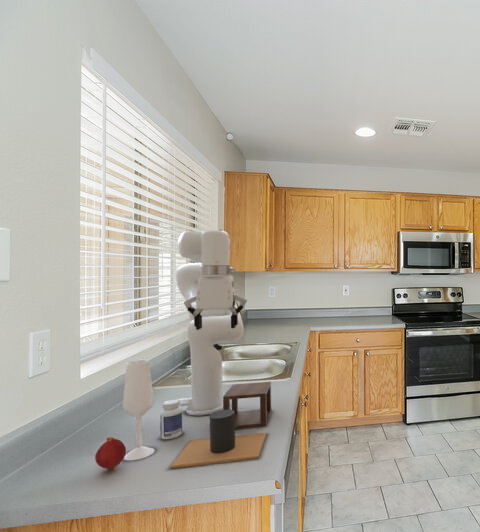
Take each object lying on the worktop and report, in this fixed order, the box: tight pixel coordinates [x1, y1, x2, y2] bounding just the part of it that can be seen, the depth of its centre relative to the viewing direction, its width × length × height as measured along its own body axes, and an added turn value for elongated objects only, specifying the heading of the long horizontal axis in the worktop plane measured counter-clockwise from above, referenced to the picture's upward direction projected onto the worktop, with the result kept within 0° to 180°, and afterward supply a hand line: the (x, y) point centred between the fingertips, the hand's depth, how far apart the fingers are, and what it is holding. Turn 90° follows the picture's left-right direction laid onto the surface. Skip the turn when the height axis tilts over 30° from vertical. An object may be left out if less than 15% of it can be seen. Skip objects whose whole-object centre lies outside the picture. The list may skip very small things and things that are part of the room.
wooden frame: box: [223, 381, 272, 430], centre depth 118 cm, size 12×12×10 cm
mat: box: [170, 432, 268, 469], centre depth 98 cm, size 20×14×1 cm
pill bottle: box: [159, 399, 183, 440], centre depth 108 cm, size 5×5×10 cm
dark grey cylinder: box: [209, 409, 236, 453], centre depth 98 cm, size 6×6×9 cm
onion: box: [94, 436, 127, 471], centre depth 90 cm, size 6×6×8 cm
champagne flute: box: [122, 359, 155, 462], centre depth 97 cm, size 7×7×24 cm
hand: (216, 328), depth 112 cm, fingers open, 9 cm apart
